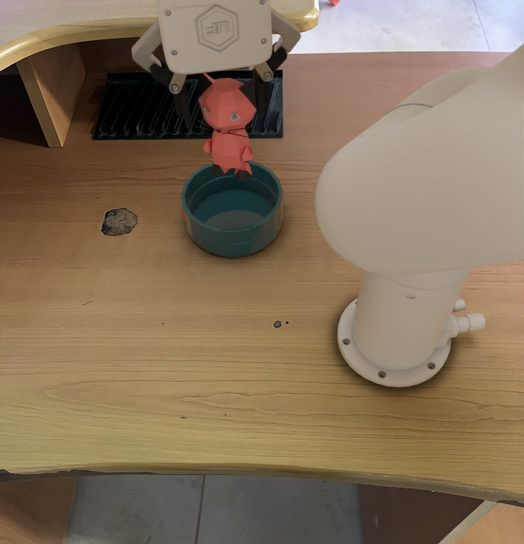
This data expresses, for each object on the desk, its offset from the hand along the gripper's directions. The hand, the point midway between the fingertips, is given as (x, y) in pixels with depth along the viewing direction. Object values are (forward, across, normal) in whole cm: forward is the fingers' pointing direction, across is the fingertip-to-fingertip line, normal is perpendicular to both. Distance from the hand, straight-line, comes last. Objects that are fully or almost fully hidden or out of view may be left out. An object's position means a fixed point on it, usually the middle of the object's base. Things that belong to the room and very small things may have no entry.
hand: (223, 112), depth 61 cm
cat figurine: (+8, 0, 0) cm, 8 cm away
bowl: (+16, 0, 0) cm, 16 cm away
